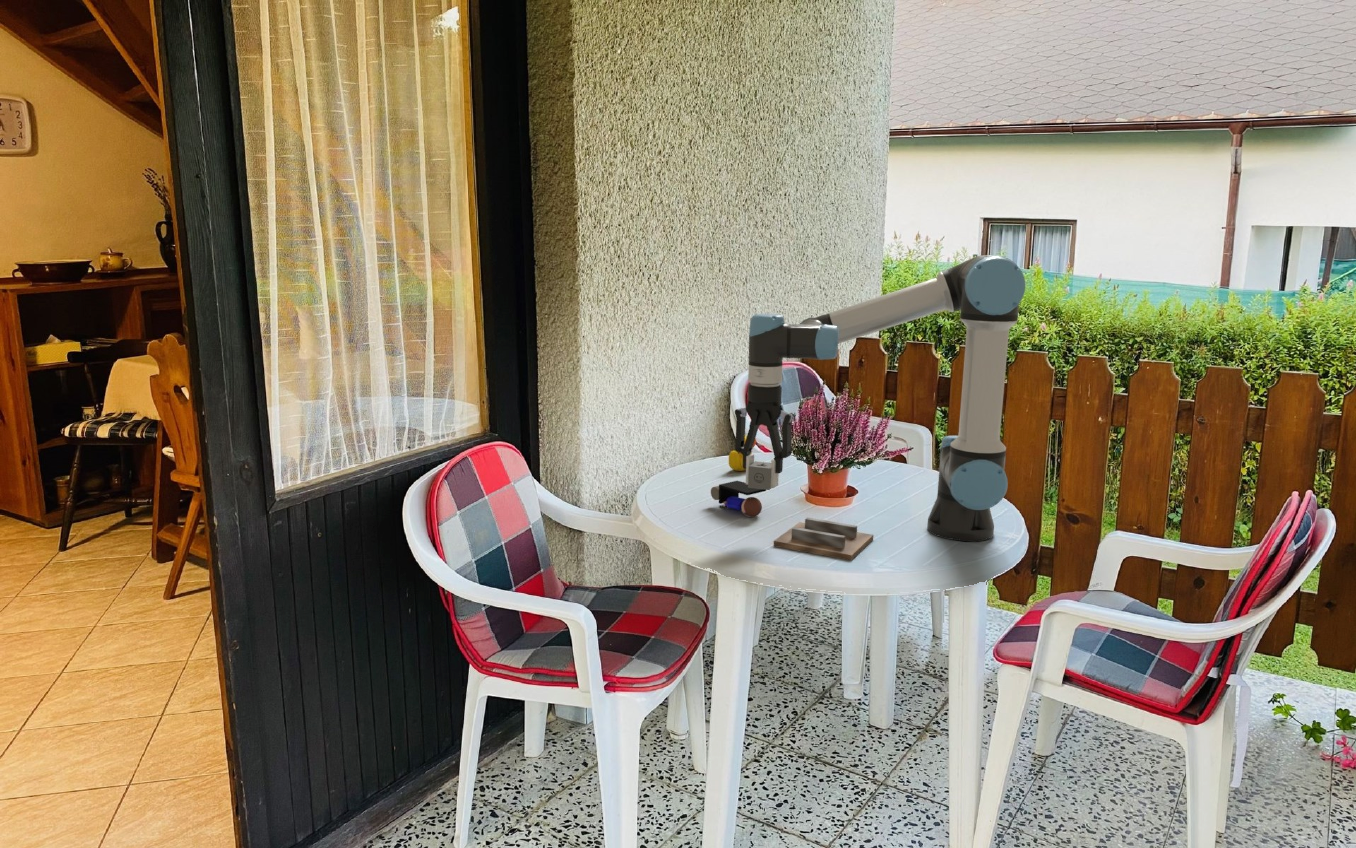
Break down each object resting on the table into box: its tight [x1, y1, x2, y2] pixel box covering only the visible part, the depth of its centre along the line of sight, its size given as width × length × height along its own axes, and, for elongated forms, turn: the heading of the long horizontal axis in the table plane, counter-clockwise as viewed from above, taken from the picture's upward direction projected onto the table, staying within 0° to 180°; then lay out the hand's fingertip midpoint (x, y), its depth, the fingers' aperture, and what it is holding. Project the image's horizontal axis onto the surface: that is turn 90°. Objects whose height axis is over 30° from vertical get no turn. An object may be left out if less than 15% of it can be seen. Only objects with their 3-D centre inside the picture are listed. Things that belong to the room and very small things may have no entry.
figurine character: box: [710, 480, 767, 518], centre depth 234 cm, size 7×8×15 cm
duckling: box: [728, 435, 757, 472], centre depth 274 cm, size 11×5×10 cm, turn 139°
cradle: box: [773, 517, 874, 561], centre depth 212 cm, size 18×16×4 cm
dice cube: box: [748, 460, 772, 491], centre depth 213 cm, size 5×5×5 cm
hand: (761, 484), depth 213 cm, fingers closed on dice cube, 5 cm apart
